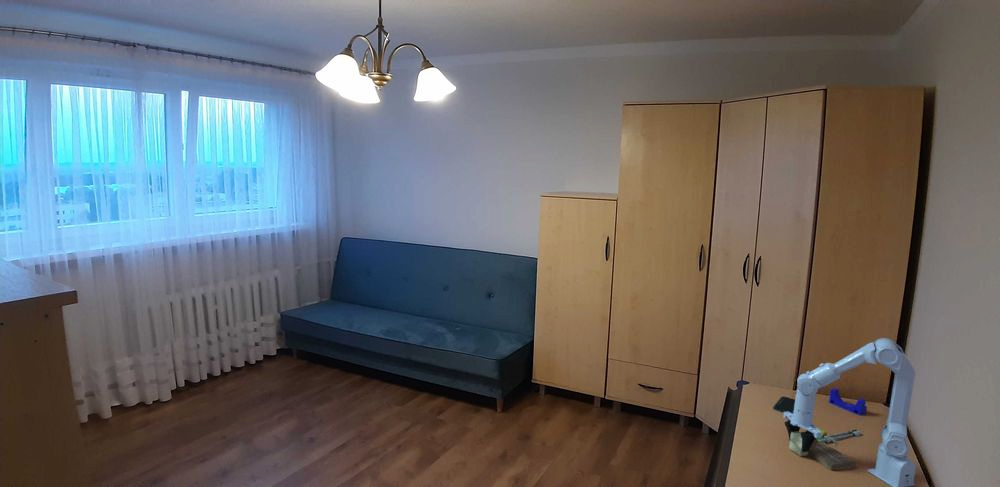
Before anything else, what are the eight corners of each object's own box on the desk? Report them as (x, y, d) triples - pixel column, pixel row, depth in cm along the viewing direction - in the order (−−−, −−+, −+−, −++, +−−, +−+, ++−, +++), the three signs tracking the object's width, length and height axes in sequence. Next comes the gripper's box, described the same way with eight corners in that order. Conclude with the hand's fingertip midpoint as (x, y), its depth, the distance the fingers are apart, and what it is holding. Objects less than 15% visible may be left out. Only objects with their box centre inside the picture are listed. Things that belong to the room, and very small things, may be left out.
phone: (803, 401, 217) (794, 414, 206) (802, 404, 217) (793, 416, 206) (782, 395, 222) (772, 407, 211) (781, 398, 222) (771, 410, 211)
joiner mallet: (821, 453, 178) (823, 437, 178) (800, 456, 177) (802, 439, 176) (809, 445, 183) (811, 429, 182) (789, 448, 181) (791, 431, 180)
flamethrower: (785, 437, 189) (810, 452, 180) (787, 430, 189) (812, 445, 180) (840, 425, 201) (866, 439, 192) (841, 419, 200) (867, 433, 191)
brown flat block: (853, 467, 171) (854, 461, 171) (831, 470, 169) (831, 464, 169) (821, 446, 184) (822, 440, 184) (799, 448, 182) (800, 442, 182)
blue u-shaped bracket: (865, 413, 210) (868, 399, 209) (859, 415, 208) (861, 401, 207) (835, 401, 221) (837, 387, 220) (829, 402, 219) (830, 389, 218)
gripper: (777, 400, 183) (773, 436, 185) (811, 421, 169) (805, 459, 171) (794, 399, 185) (790, 435, 187) (829, 419, 171) (823, 457, 173)
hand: (798, 446), depth 179 cm, fingers closed on joiner mallet, 5 cm apart
